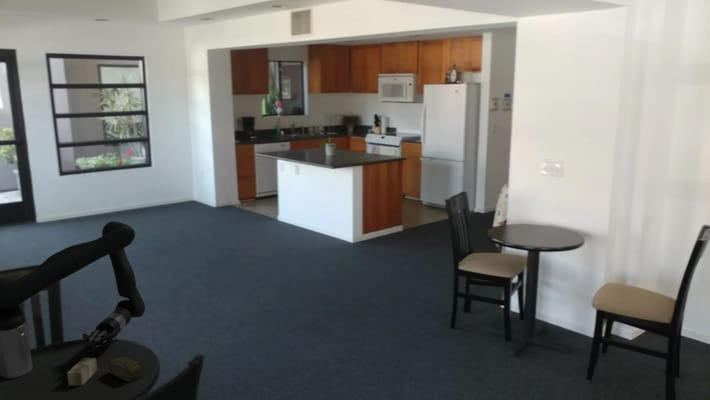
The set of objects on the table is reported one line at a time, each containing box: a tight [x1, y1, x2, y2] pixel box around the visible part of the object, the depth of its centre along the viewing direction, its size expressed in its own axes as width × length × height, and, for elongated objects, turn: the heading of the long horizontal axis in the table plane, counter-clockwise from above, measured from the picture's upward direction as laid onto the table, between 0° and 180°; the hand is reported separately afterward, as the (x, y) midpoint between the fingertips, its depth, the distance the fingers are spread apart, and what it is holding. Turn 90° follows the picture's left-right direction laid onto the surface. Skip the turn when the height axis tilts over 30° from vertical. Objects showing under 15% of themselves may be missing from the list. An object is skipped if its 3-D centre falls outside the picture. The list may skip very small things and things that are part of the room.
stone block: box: [108, 355, 143, 382], centre depth 187 cm, size 6×12×5 cm, turn 57°
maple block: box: [66, 357, 98, 386], centre depth 186 cm, size 4×4×10 cm
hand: (87, 349), depth 189 cm, fingers closed
